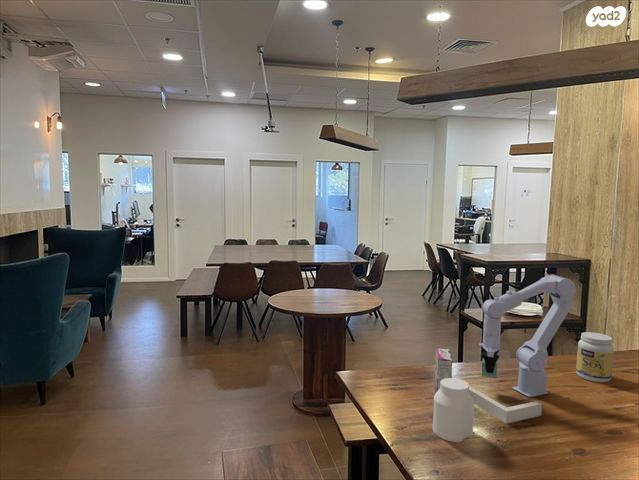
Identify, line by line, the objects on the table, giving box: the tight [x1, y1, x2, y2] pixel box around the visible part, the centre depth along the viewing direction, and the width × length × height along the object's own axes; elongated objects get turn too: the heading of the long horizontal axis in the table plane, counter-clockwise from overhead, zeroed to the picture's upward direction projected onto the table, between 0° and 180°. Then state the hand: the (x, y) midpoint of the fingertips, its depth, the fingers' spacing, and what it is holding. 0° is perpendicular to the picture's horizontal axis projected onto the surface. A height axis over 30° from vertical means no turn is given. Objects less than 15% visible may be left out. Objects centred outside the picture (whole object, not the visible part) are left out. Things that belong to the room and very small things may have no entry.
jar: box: [432, 377, 475, 443], centre depth 129 cm, size 12×10×15 cm
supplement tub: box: [575, 331, 615, 383], centre depth 172 cm, size 12×12×17 cm
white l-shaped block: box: [469, 385, 543, 425], centre depth 147 cm, size 15×20×4 cm
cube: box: [481, 357, 498, 379], centre depth 157 cm, size 5×5×5 cm
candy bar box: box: [434, 347, 453, 395], centre depth 151 cm, size 11×5×16 cm, turn 168°
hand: (489, 369), depth 157 cm, fingers closed on cube, 5 cm apart
